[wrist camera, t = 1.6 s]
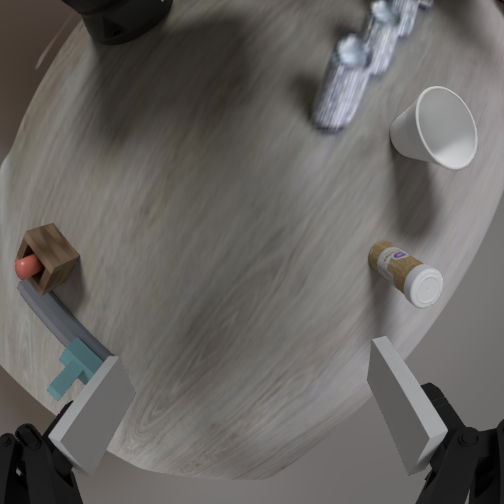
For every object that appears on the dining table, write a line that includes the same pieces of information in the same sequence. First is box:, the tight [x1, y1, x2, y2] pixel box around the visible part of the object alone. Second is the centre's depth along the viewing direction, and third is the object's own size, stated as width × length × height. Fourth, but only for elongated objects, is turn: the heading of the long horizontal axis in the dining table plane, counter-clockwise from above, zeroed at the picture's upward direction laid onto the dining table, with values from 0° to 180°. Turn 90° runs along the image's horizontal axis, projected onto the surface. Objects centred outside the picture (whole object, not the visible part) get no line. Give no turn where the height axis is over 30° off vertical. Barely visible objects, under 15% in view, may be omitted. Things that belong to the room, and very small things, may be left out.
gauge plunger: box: [15, 254, 44, 280], centre depth 31 cm, size 3×3×4 cm
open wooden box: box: [15, 223, 80, 296], centre depth 36 cm, size 8×7×7 cm
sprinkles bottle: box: [369, 241, 443, 308], centre depth 31 cm, size 5×5×13 cm
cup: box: [390, 86, 478, 170], centre depth 27 cm, size 10×10×11 cm
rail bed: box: [17, 279, 114, 362], centre depth 41 cm, size 24×8×3 cm, turn 45°
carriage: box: [47, 337, 104, 401], centre depth 36 cm, size 7×5×12 cm
